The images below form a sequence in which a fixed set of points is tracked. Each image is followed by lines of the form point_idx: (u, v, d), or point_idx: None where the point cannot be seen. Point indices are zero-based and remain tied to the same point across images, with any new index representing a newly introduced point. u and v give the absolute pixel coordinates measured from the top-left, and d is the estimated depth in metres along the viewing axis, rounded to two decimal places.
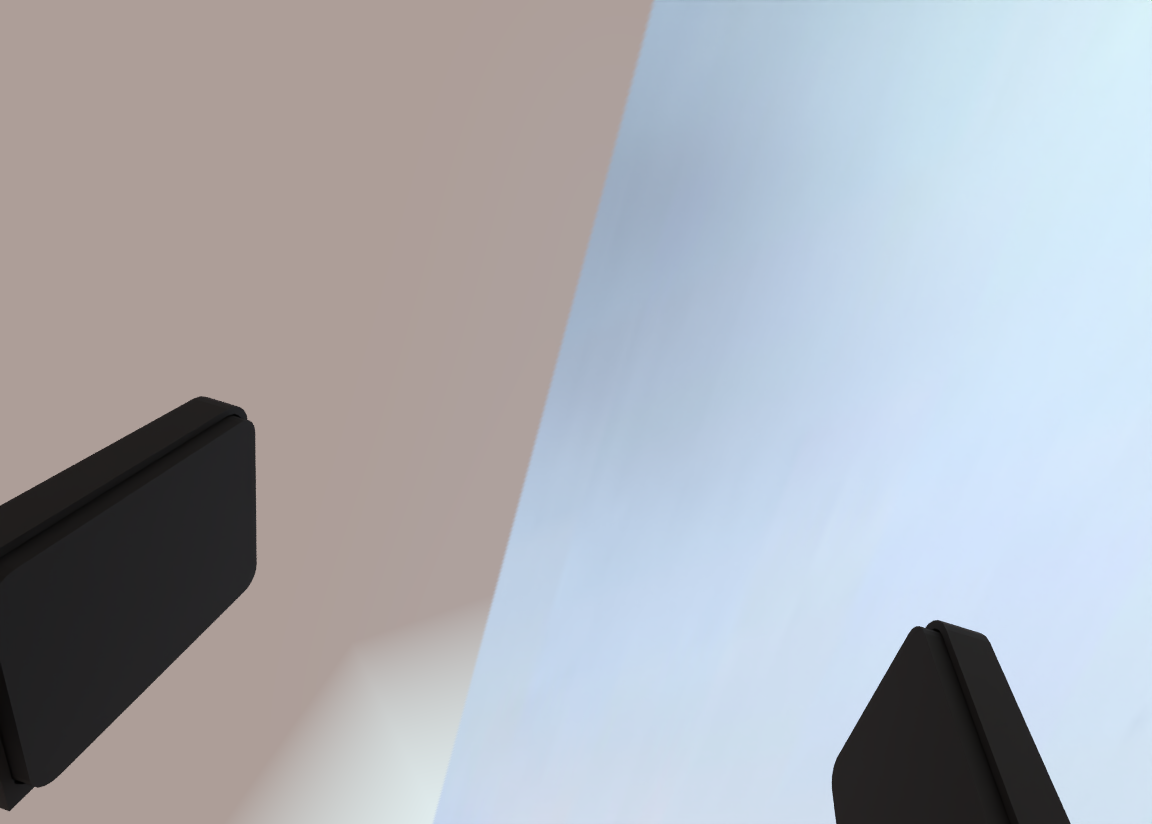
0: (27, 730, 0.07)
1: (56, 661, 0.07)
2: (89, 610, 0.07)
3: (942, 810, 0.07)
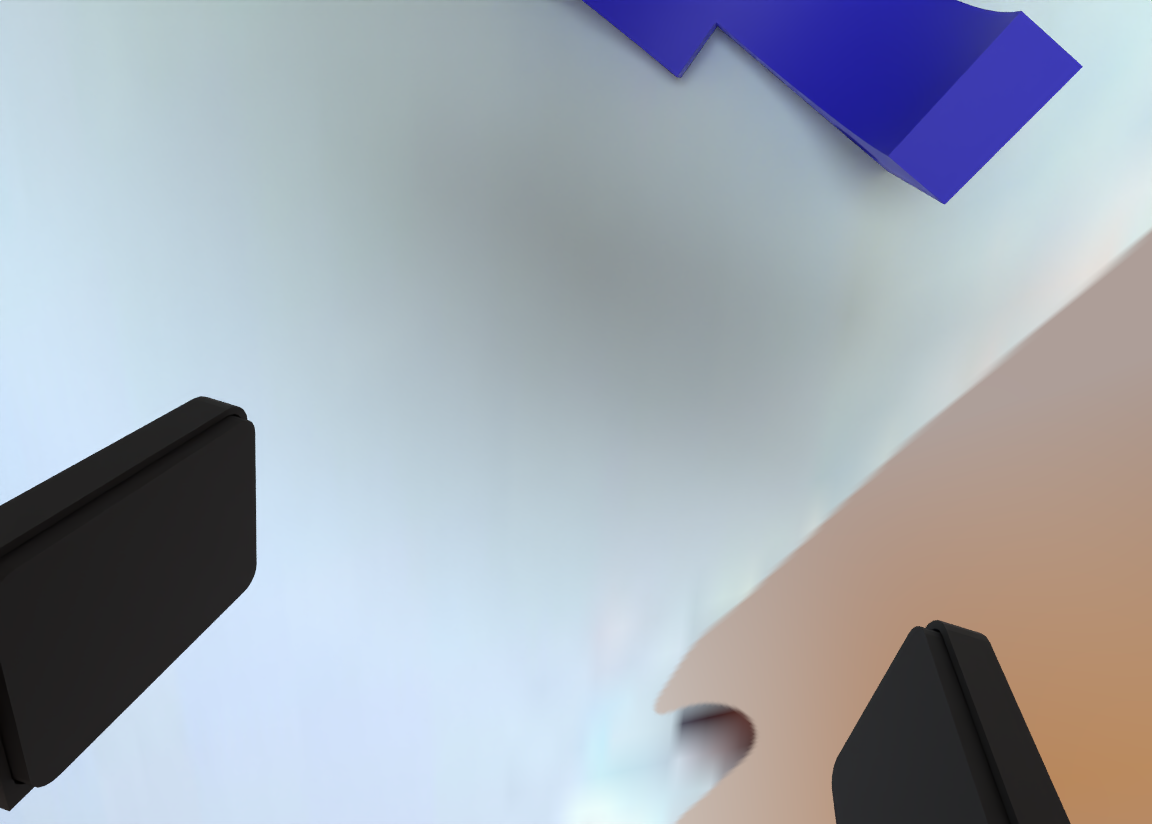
0: (27, 730, 0.07)
1: (56, 661, 0.07)
2: (89, 610, 0.07)
3: (942, 810, 0.07)
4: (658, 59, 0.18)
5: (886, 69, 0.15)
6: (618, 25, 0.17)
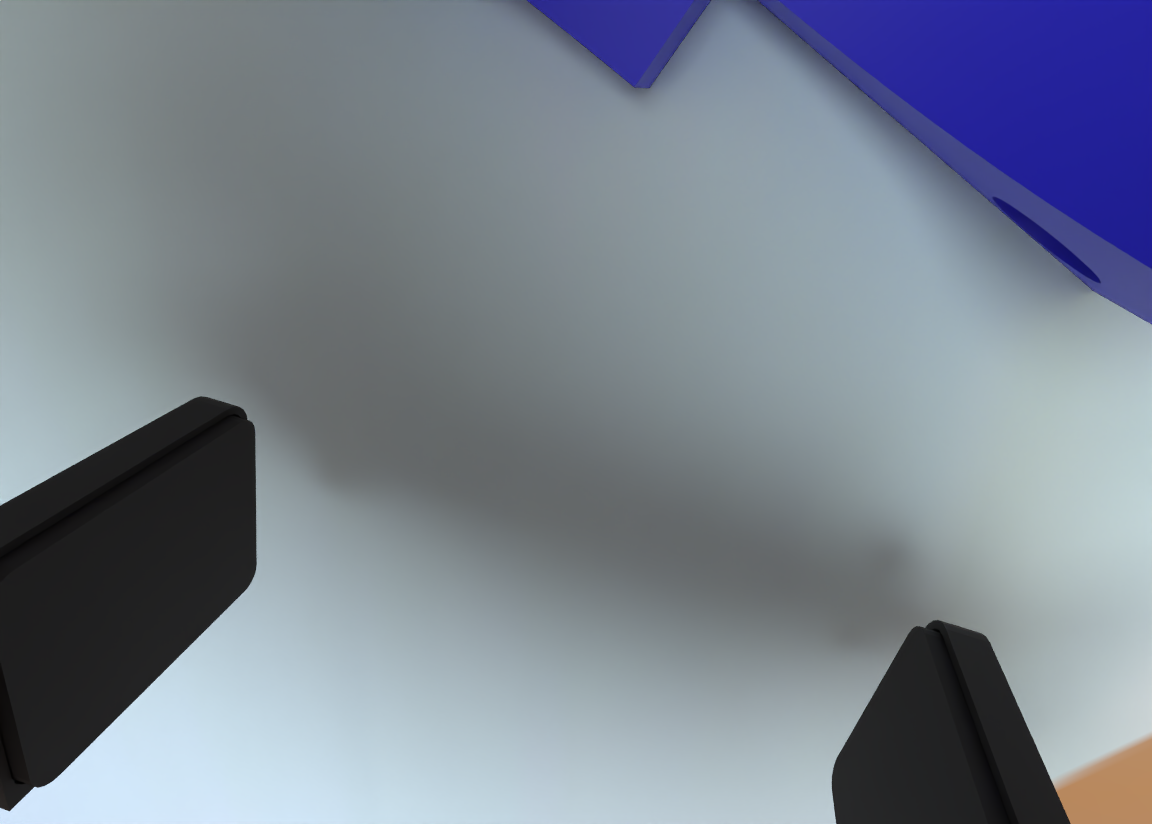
0: (27, 730, 0.07)
1: (56, 661, 0.07)
2: (89, 610, 0.07)
3: (942, 810, 0.07)
4: (590, 46, 0.08)
5: None
6: None
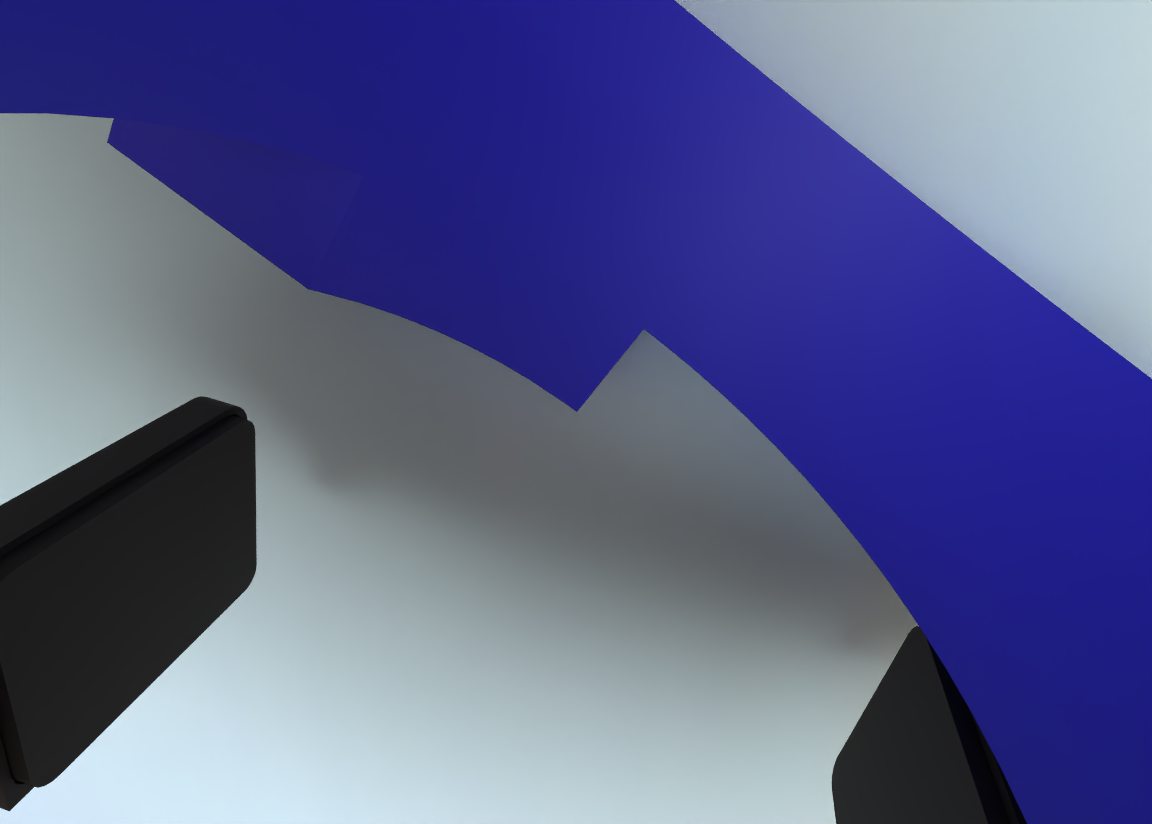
0: (27, 730, 0.07)
1: (56, 661, 0.07)
2: (89, 610, 0.07)
3: (942, 810, 0.07)
4: (539, 383, 0.09)
5: (1011, 521, 0.07)
6: (454, 333, 0.09)
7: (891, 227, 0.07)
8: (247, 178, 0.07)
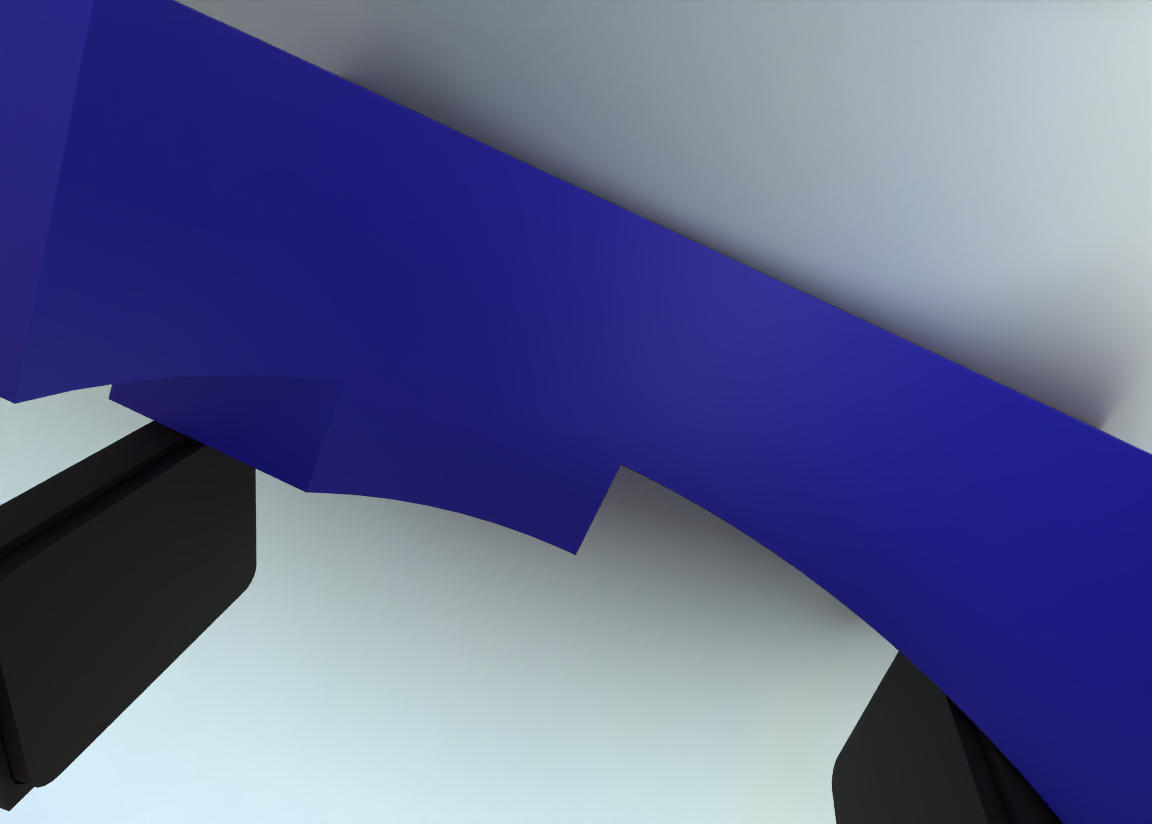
0: (27, 730, 0.07)
1: (56, 661, 0.07)
2: (89, 610, 0.07)
3: (942, 810, 0.07)
4: (535, 534, 0.10)
5: (998, 572, 0.07)
6: (447, 504, 0.09)
7: (815, 333, 0.08)
8: (239, 405, 0.08)
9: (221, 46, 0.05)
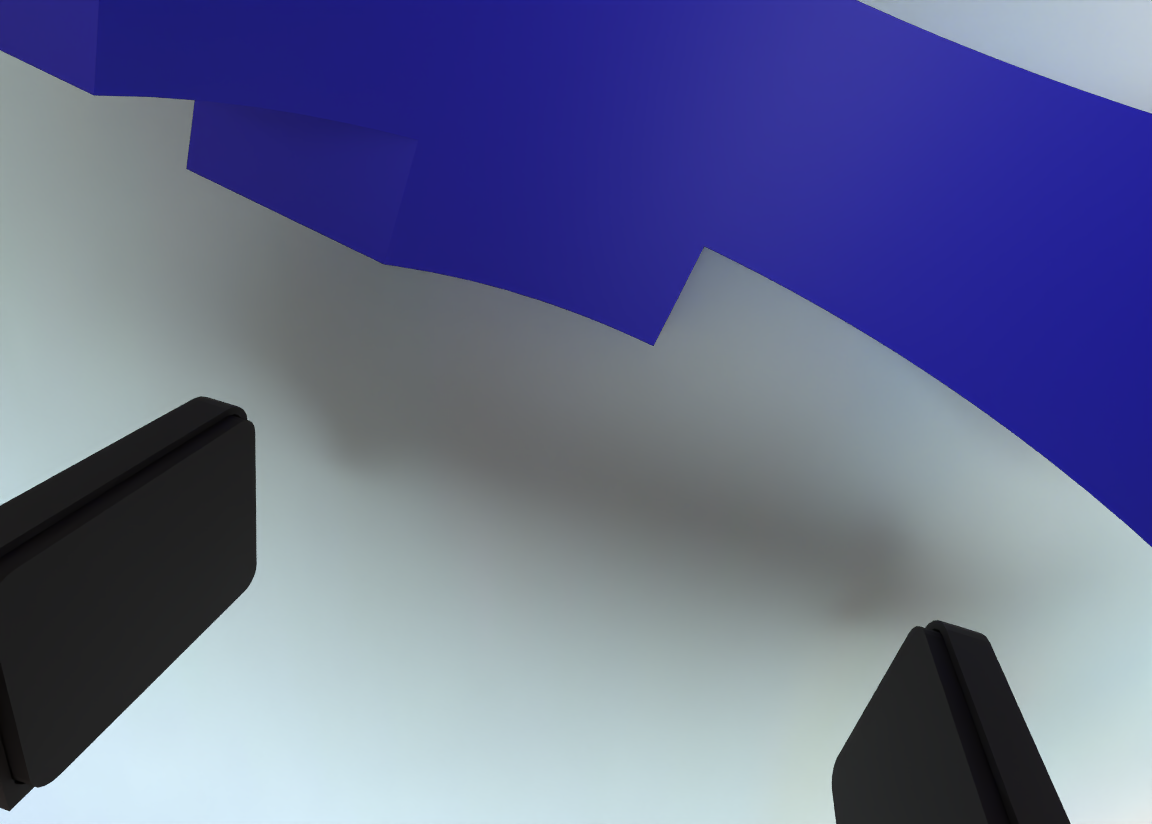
0: (27, 730, 0.07)
1: (56, 661, 0.07)
2: (89, 610, 0.07)
3: (942, 810, 0.07)
4: (612, 324, 0.09)
5: (1126, 328, 0.06)
6: (523, 289, 0.09)
7: (934, 79, 0.07)
8: (313, 170, 0.08)
9: None
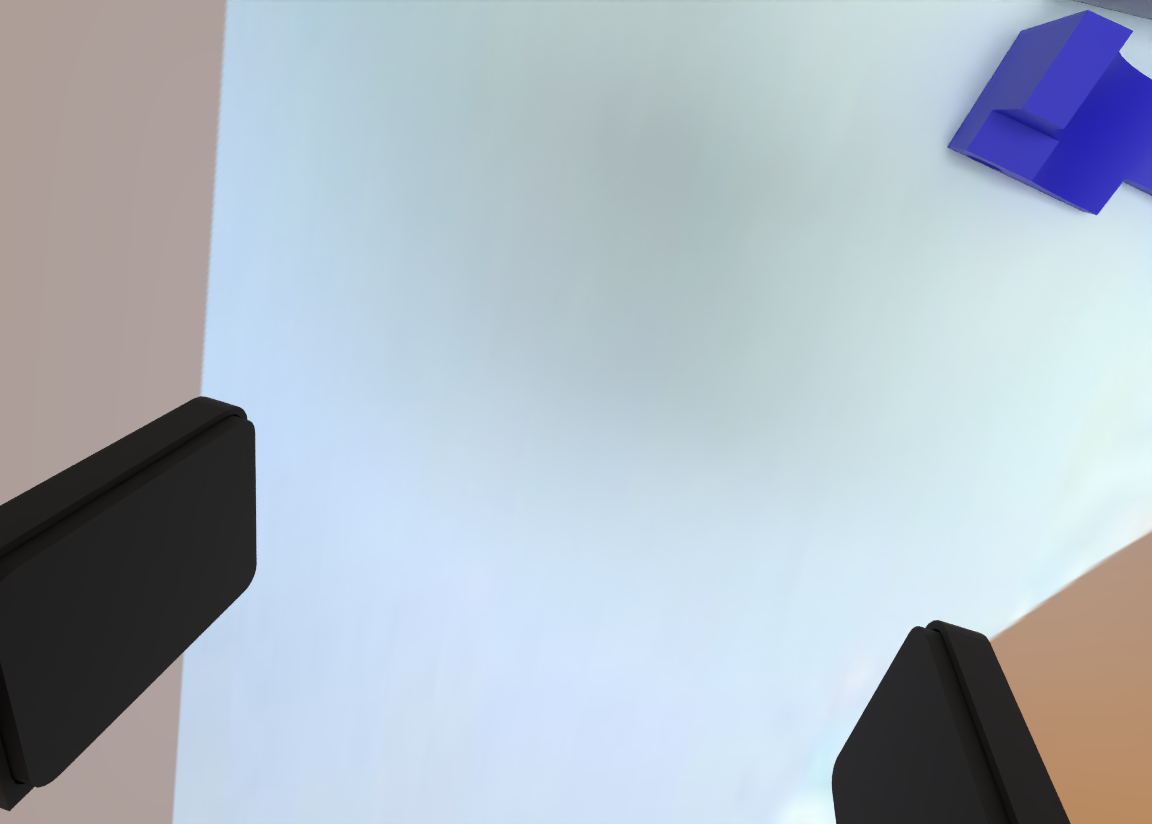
0: (27, 730, 0.07)
1: (56, 661, 0.07)
2: (89, 610, 0.07)
3: (942, 810, 0.07)
4: (1083, 207, 0.27)
5: None
6: (1057, 193, 0.26)
7: None
8: (1016, 150, 0.25)
9: None
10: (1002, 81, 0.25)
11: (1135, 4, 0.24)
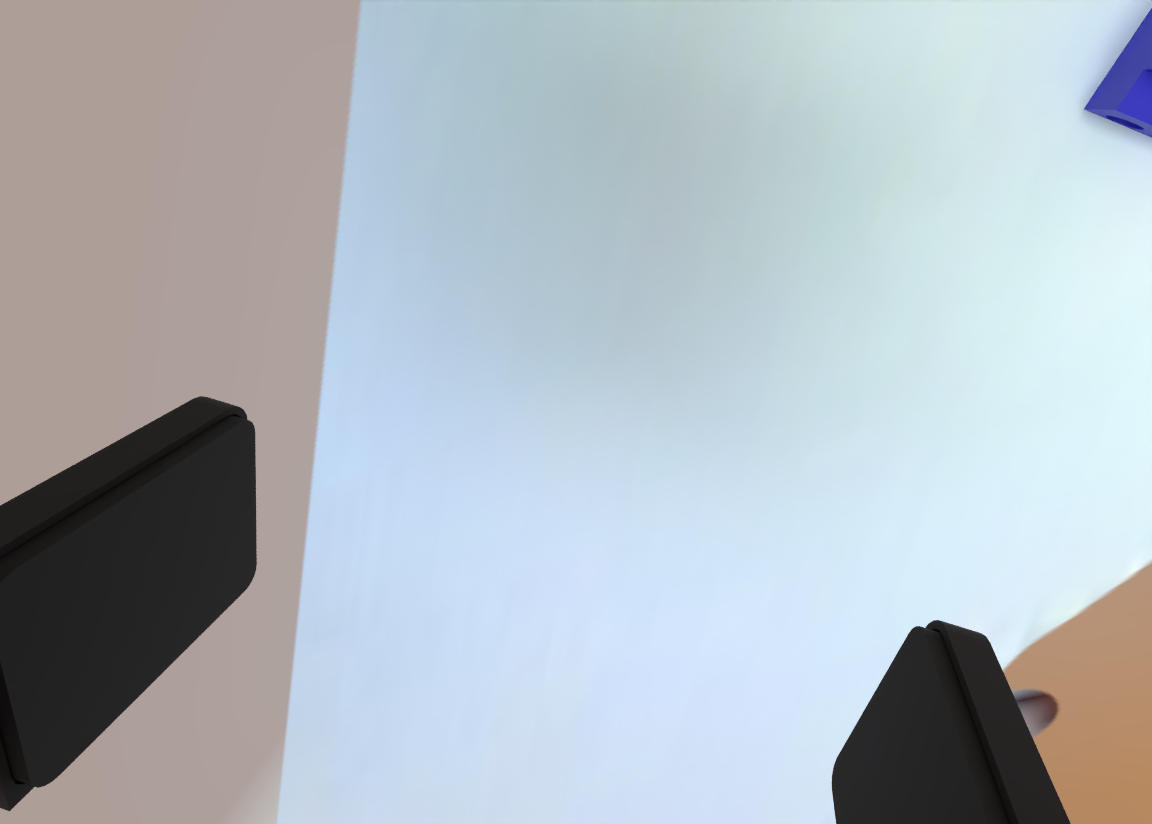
0: (27, 730, 0.07)
1: (56, 661, 0.07)
2: (89, 610, 0.07)
3: (942, 810, 0.07)
4: None
5: None
6: None
7: None
8: None
9: None
10: (1149, 41, 0.26)
11: None
